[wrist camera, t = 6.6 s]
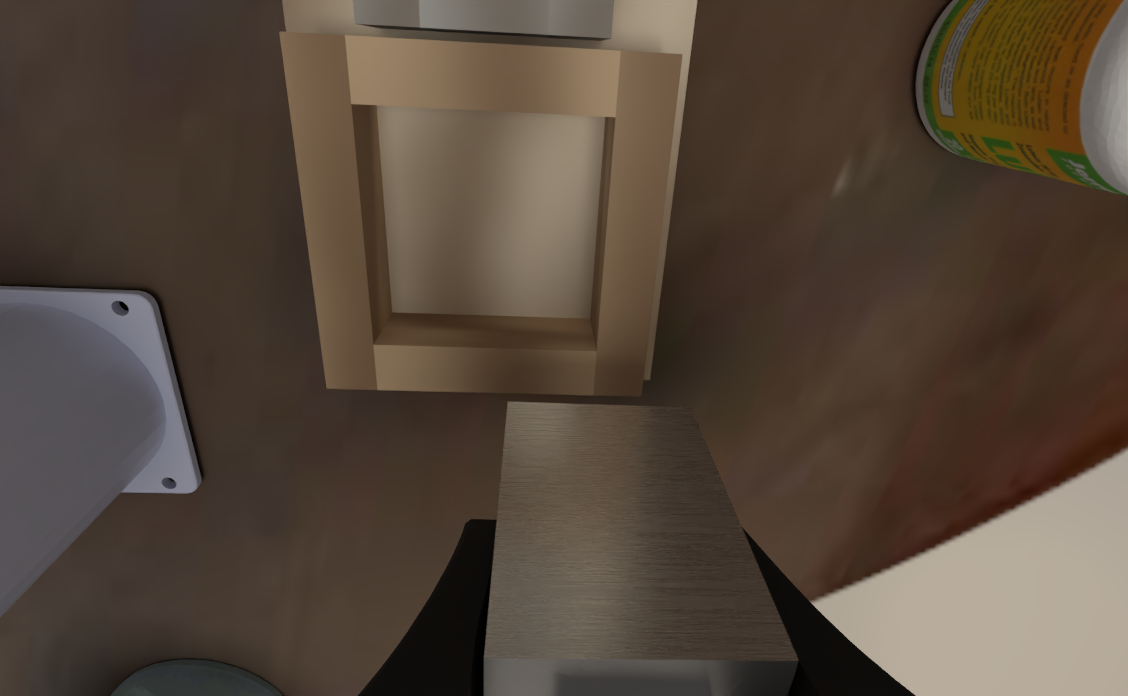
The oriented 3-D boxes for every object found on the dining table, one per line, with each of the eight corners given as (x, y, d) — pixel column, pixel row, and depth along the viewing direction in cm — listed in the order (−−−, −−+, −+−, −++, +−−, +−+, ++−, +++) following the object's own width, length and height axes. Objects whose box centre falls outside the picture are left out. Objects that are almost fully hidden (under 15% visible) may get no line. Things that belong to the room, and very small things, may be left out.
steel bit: (504, 543, 17) (480, 881, 10) (507, 401, 15) (480, 698, 8) (667, 546, 17) (752, 877, 10) (690, 407, 15) (815, 700, 8)
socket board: (336, 361, 22) (304, 409, 19) (216, -629, 12) (111, -853, 9) (646, 369, 22) (662, 417, 19) (759, -568, 13) (826, -760, 10)
